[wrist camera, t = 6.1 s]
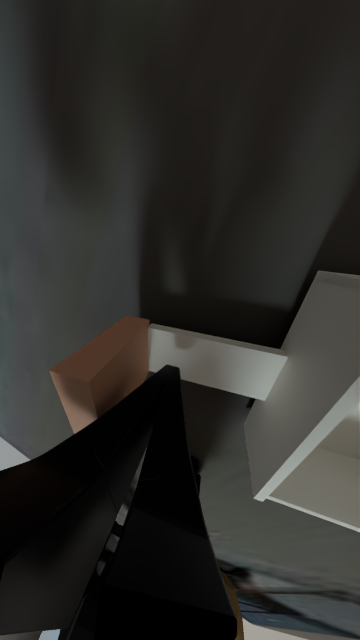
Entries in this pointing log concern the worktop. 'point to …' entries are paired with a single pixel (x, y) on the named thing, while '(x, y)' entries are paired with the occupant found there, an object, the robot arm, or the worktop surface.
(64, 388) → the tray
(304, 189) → the worktop surface
